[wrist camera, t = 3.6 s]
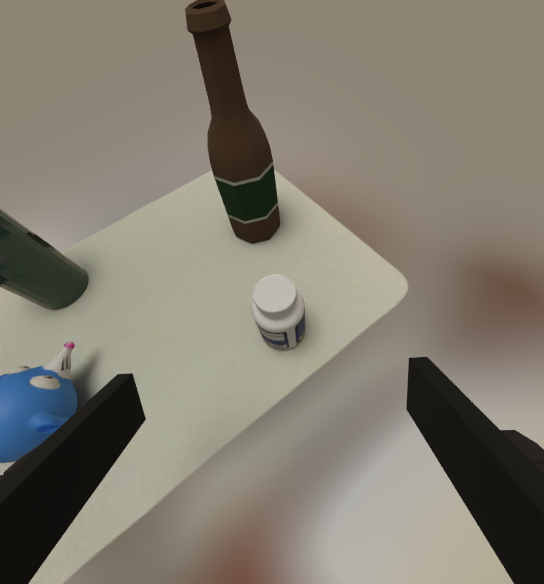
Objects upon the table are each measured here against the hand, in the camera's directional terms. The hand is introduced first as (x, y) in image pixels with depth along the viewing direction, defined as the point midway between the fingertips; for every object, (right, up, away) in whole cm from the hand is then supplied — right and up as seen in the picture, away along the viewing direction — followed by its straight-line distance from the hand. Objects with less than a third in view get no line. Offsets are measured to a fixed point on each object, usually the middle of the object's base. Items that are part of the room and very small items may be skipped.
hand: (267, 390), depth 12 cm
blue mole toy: (-24, -8, +18) cm, 31 cm away
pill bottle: (+2, 0, +19) cm, 19 cm away
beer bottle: (-2, +15, +28) cm, 32 cm away
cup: (-31, +5, +27) cm, 42 cm away
